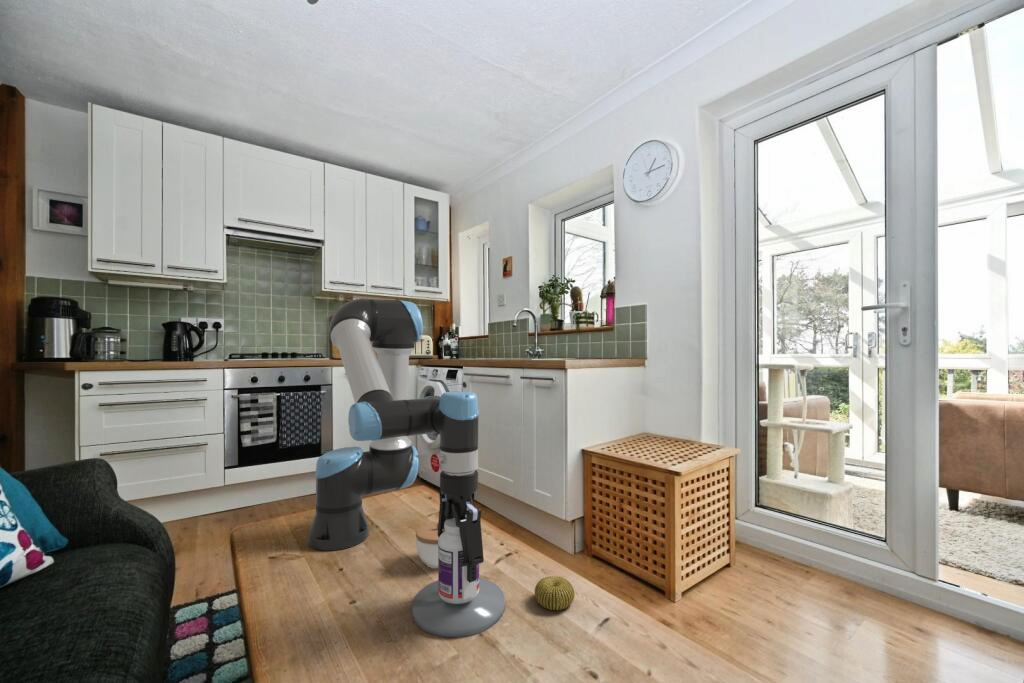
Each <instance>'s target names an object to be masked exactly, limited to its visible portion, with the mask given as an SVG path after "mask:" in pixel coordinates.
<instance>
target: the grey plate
mask: <svg viewBox="0 0 1024 683" xmlns="http://www.w3.org/2000/svg"><path fill="white" fill-rule="evenodd" d="M505 597H506V596H505V594H504V591H503V590H502V588H501V587H500V586H499V585H498V584H496V583H494V582H493V581H492V580H489V579H486V578H483V577H481V576H479V592H478V594H477V596H476V597H475V598H474V599H473V600H471V601H469V602H466V603H462V604H451V603H447V602H445V601H444V600H442V599H441V597H440V596H439V589H438V580H435V581H433V582H431V583H429V584H426V585H425V586H424V587H423V588H421V589H420V590H419V591H418V592H417V593H416V594H415V596H414V598H413V602H412V605H411V606H412V607H411V608H412V611H411V612H412V618H413V621H414V623H415V624H416V625H417V627H419V629H421V630H422V631H424V632H426V633H428V634H430V635H433V636H437V637H442V638H463V637H469V636H470V637H471V636H474V635H477V634H480V633H483V632H485V631H487V630H488V629H490V628H492V627H493V626H495V625H496V624H497V623H498V622H499V621H500V620H501V618H502V617H503V615H504V613H505V607H506V603H505V602H506V601H505V600H506V599H505Z"/></svg>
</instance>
